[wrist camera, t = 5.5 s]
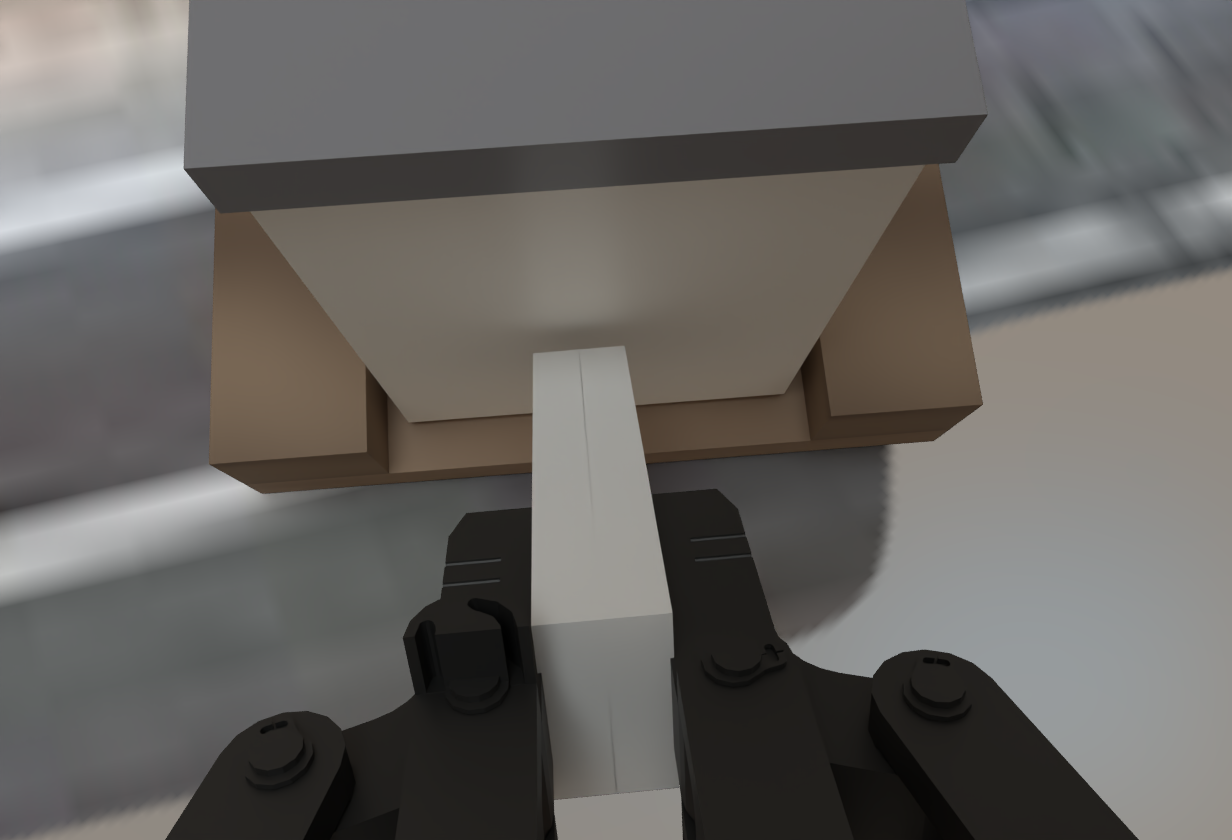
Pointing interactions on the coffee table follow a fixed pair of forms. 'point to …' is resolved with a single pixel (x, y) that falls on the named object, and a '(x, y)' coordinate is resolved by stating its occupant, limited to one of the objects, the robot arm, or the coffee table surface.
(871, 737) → the robot arm
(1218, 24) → the coffee table surface
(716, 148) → the beige upright block
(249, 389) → the dark open tray
